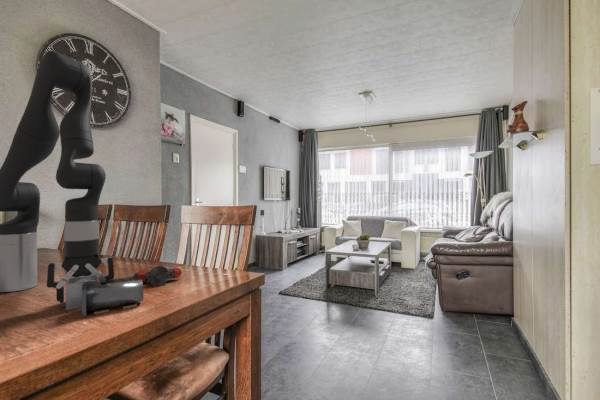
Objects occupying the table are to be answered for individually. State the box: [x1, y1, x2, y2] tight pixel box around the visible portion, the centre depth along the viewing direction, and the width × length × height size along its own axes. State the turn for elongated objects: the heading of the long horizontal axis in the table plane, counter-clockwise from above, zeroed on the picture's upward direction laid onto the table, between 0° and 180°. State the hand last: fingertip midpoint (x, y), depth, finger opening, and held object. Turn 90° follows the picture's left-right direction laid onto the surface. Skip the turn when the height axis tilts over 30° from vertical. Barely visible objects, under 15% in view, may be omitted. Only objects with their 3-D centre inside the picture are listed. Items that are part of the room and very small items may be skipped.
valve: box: [97, 265, 182, 286], centre depth 100 cm, size 6×26×15 cm
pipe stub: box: [81, 280, 144, 318], centre depth 75 cm, size 13×6×6 cm, turn 125°
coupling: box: [65, 274, 98, 311], centre depth 78 cm, size 8×6×6 cm
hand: (82, 298), depth 78 cm, fingers open, 8 cm apart
